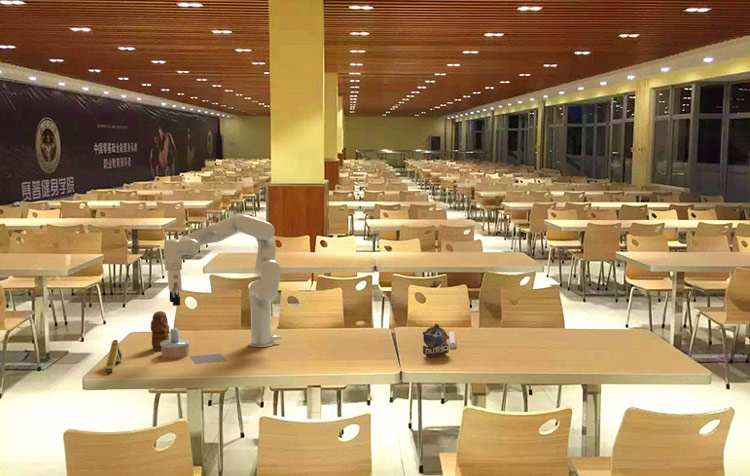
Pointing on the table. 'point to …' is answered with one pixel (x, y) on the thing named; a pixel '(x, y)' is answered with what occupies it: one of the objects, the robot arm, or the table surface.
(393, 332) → the table surface
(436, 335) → the decorative emblem
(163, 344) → the lid
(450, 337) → the tube
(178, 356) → the bowl
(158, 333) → the wooden figurine
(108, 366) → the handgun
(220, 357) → the mat
